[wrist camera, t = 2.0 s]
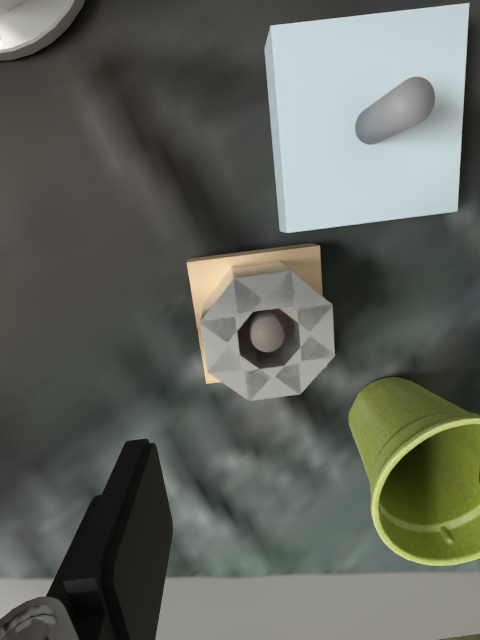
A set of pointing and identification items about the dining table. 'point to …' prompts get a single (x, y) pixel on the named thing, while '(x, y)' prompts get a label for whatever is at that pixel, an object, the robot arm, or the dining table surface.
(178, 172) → the dining table surface
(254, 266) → the ring
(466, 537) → the plant pot
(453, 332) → the dining table surface
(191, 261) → the stand
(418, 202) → the peg base
